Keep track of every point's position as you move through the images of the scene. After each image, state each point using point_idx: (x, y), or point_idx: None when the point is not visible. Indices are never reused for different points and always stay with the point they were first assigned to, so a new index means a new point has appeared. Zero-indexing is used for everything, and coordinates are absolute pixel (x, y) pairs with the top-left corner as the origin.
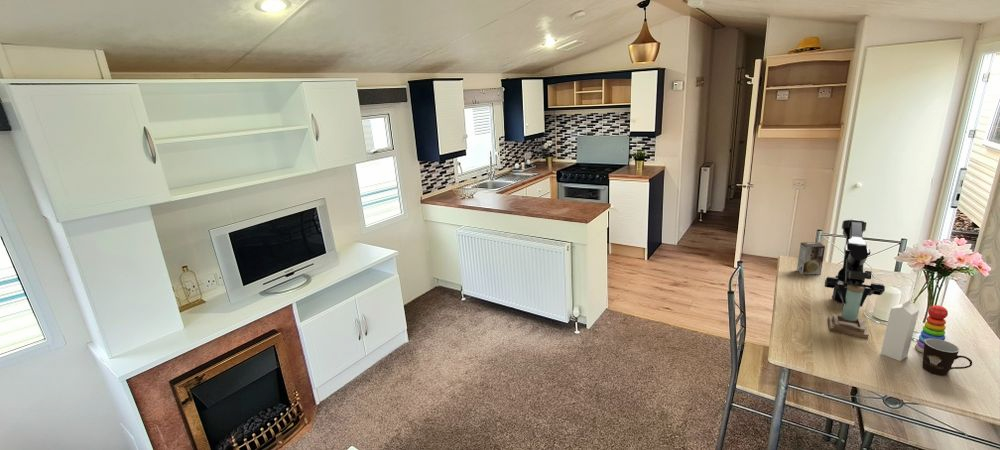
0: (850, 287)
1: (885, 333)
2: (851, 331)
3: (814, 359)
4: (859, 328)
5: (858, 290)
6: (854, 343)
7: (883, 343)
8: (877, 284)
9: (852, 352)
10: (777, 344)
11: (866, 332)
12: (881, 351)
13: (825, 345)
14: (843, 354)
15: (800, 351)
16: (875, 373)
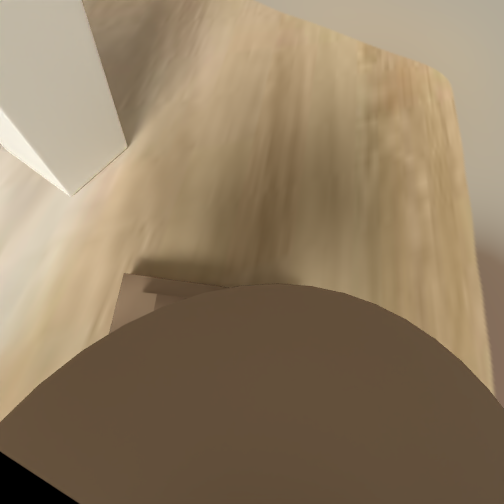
0: (489, 470)
1: (93, 42)
2: (205, 289)
3: (359, 75)
4: (164, 295)
5: (242, 289)
6: (210, 208)
7: (112, 102)
8: None
9: (237, 135)
10: (459, 137)
11: (124, 305)
12: (124, 136)
13: (323, 164)
14: (272, 116)
15: (396, 110)
16: (199, 28)
